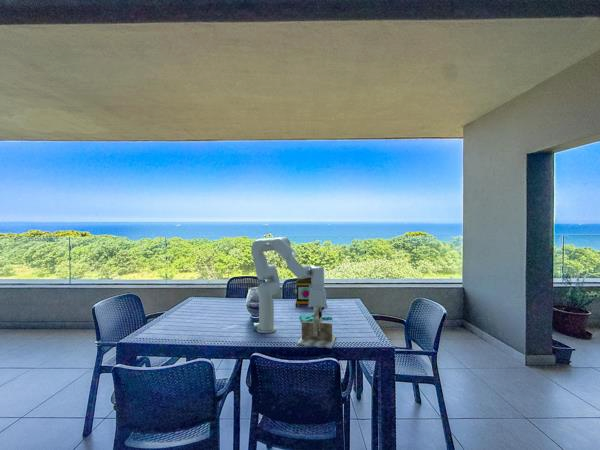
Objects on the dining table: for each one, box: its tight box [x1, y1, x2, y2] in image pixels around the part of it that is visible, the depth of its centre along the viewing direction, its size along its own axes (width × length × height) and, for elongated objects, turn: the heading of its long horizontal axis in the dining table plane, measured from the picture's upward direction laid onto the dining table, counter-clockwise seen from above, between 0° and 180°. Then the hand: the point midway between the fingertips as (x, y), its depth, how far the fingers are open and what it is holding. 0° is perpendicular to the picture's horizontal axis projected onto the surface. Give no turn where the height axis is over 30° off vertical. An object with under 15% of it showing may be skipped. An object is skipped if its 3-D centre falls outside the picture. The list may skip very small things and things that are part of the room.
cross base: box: [296, 321, 337, 349], centre depth 192 cm, size 20×18×11 cm
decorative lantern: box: [293, 277, 311, 308], centre depth 277 cm, size 20×20×30 cm
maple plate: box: [313, 307, 323, 337], centre depth 194 cm, size 2×16×16 cm, turn 166°
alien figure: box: [298, 313, 333, 323], centre depth 235 cm, size 20×2×20 cm
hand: (317, 317), depth 194 cm, fingers closed on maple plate, 1 cm apart
